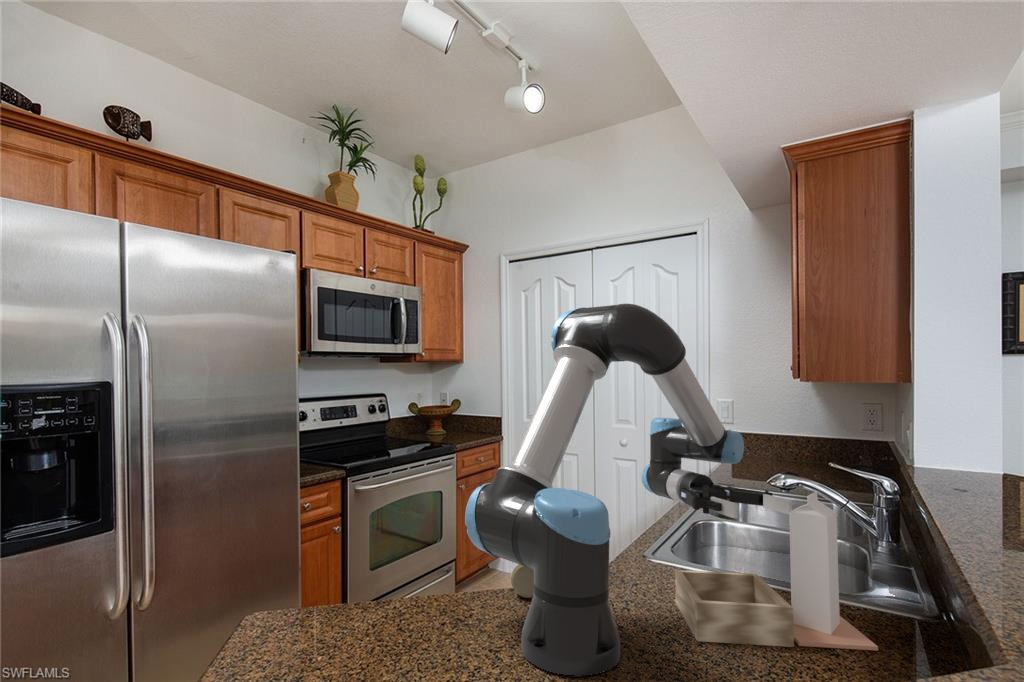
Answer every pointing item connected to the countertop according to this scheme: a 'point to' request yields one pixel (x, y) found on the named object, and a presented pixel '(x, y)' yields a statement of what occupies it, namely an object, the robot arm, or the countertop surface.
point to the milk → (814, 566)
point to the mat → (834, 638)
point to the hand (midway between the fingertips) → (764, 509)
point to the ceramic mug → (522, 580)
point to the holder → (733, 608)
